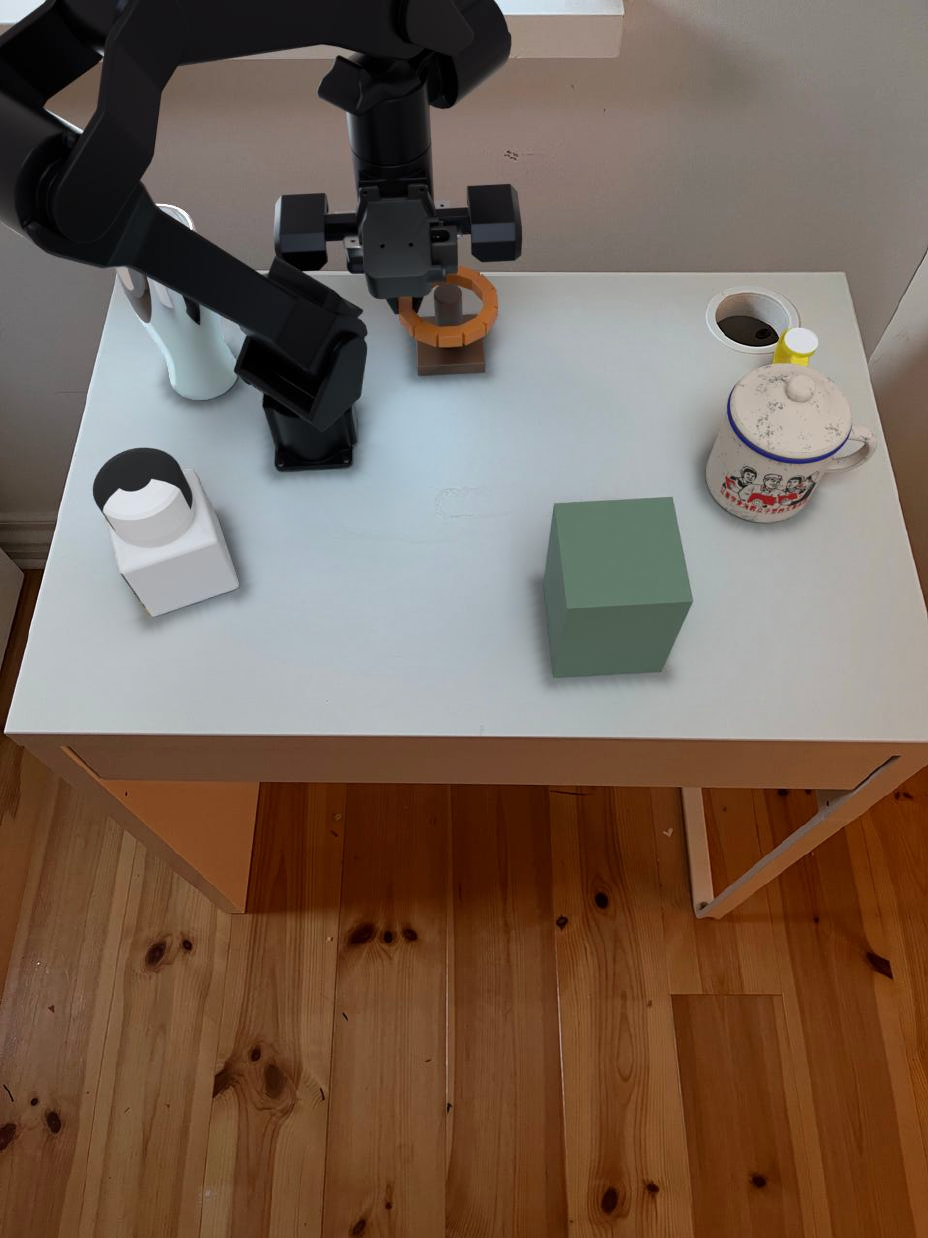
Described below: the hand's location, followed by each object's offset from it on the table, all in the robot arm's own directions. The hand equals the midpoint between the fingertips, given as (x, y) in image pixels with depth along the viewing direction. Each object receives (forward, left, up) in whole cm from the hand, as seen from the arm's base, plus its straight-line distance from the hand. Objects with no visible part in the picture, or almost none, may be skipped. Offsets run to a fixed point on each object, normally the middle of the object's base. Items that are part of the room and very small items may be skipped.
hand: (406, 310), depth 76 cm
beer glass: (-18, -1, -5) cm, 19 cm away
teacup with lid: (+30, -16, -5) cm, 34 cm away
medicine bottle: (-18, -21, -5) cm, 29 cm away
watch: (+32, -6, -5) cm, 33 cm away
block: (+14, -29, -5) cm, 32 cm away
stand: (+4, 0, -5) cm, 6 cm away
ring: (+4, 0, 0) cm, 4 cm away
